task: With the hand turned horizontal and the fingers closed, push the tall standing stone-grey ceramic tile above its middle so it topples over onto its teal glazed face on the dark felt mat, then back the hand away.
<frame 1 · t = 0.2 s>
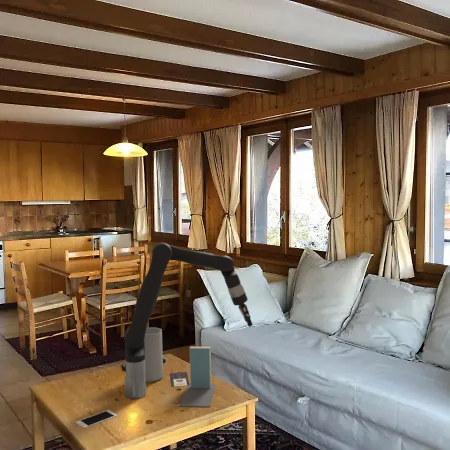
hand: (249, 323, 247), 31 cm above the table, tool tilted 20°, fingers open, 8 cm apart
felt mat: (198, 395, 237), on the table
cylinder vase: (151, 378, 260), on the table
chocolate bar: (179, 381, 256), on the table
tile: (200, 387, 245), resting on felt mat
cell phone: (96, 420, 214), on the table
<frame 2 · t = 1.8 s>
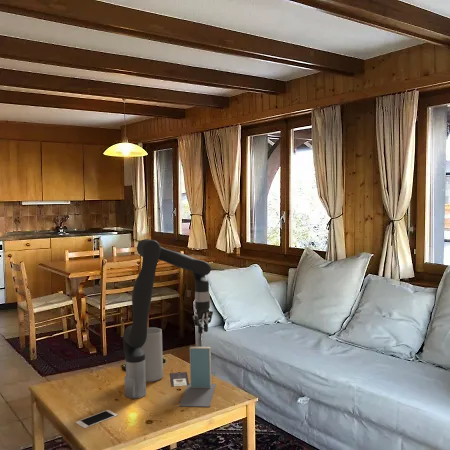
hand: (203, 332, 257), 24 cm above the table, tool pointing down, fingers open, 3 cm apart
nothing on the table moved.
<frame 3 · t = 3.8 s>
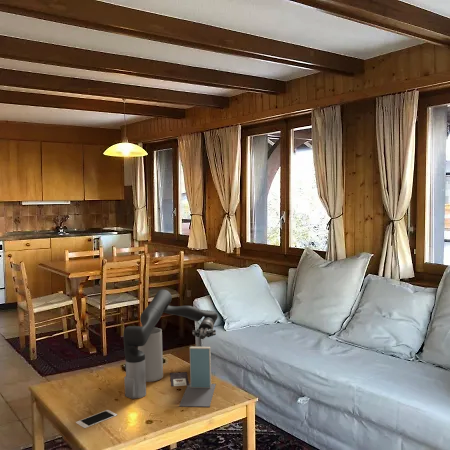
hand: (201, 337, 254), 22 cm above the table, tool horizontal, fingers closed
nothing on the table moved.
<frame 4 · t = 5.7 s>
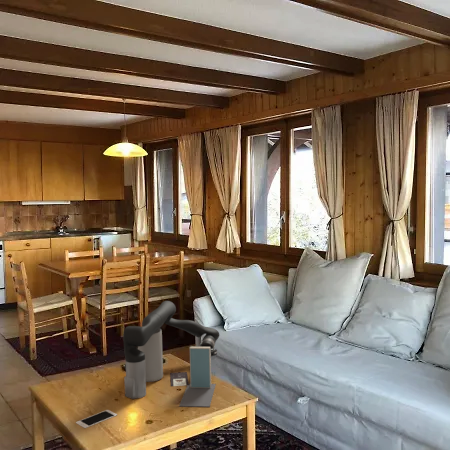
hand: (203, 357, 253), 12 cm above the table, tool horizontal, fingers closed
cylinder vase: (151, 378, 260), on the table, touching arm
everything else where it was.
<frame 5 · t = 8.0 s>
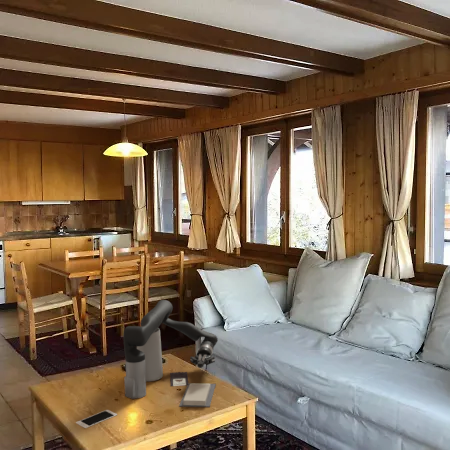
hand: (199, 365, 241), 13 cm above the table, tool horizontal, fingers closed
tile: (200, 385, 244), point 2 cm above the table, tilted 90°, touching felt mat
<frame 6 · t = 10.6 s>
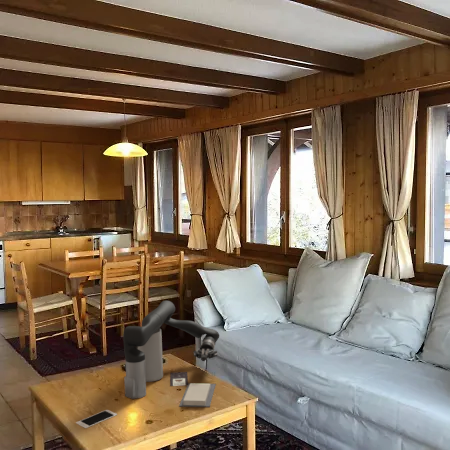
hand: (203, 359, 251), 12 cm above the table, tool horizontal, fingers closed
nothing on the table moved.
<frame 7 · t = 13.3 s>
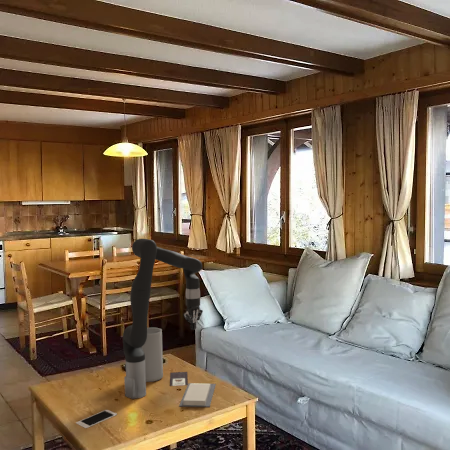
hand: (193, 329, 260), 25 cm above the table, tool pointing down, fingers closed
cylinder vase: (151, 378, 260), on the table
everything else where it was.
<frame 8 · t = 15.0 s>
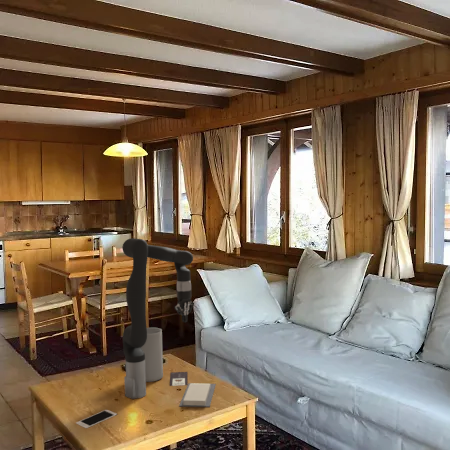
hand: (184, 321, 260), 29 cm above the table, tool pointing down, fingers closed
nothing on the table moved.
at the end: tile tilted 90°; tile 7.0 cm from the felt mat (horizontally); tile point 1.6 cm above the table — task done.
